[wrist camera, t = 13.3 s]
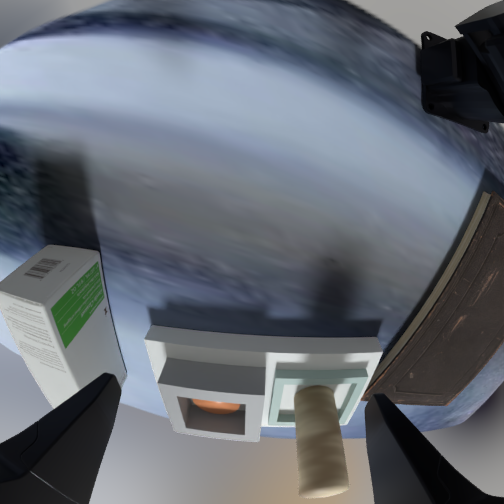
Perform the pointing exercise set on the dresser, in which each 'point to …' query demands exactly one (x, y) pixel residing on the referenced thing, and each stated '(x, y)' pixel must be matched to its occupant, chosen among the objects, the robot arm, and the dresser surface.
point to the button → (216, 406)
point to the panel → (253, 377)
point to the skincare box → (62, 320)
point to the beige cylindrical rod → (319, 444)
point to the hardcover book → (452, 320)
